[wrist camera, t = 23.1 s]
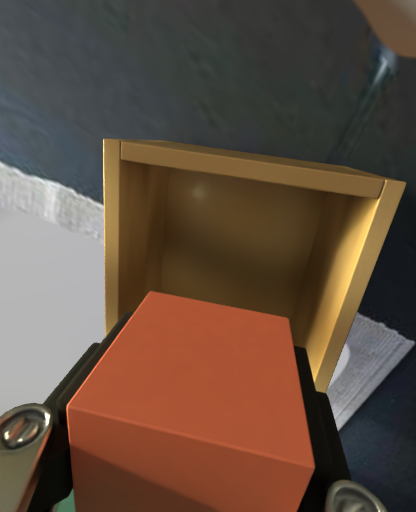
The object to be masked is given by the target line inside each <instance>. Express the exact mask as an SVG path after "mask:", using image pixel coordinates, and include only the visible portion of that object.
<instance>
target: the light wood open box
mask: <svg viewBox="0 0 416 512" xmlns="http://www.w3.org/2000/svg"><path fill="white" fill-rule="evenodd" d="M103 157H104V248H105V337H106V336H107V335H108V333H109V332H110V331H111V329H112V328H113V327H114V326H115V324H116V323H117V322H118V321H119V319H120V318H121V317H122V315H123V314H124V313H125V312H126V311H128V312H133V313H135V311H136V310H137V308H138V307H139V306H140V304H141V303H142V302H143V300H144V299H145V297H146V296H147V295H148V293H149V292H150V291H154V292H159V293H164V294H169V295H174V296H179V297H184V298H189V299H194V300H199V301H205V302H210V303H215V304H220V305H225V306H230V307H235V308H240V309H245V310H250V311H255V312H260V313H265V314H270V315H276V316H281V317H286V318H288V319H289V323H290V329H291V334H292V340H293V346H298V347H303V348H306V350H307V354H308V359H309V363H310V367H311V371H312V376H313V380H314V384H315V388H316V391H319V392H323V393H326V391H327V388H328V386H329V383H330V380H331V378H332V375H333V372H334V370H335V367H336V365H337V362H338V360H339V357H340V354H341V352H342V349H343V347H344V344H345V342H346V339H347V336H348V334H349V331H350V329H351V326H352V323H353V321H354V318H355V316H356V313H357V310H358V308H359V305H360V303H361V300H362V297H363V295H364V292H365V290H366V287H367V284H368V282H369V279H370V277H371V274H372V272H373V269H374V266H375V264H376V261H377V259H378V256H379V253H380V251H381V248H382V246H383V243H384V240H385V238H386V235H387V233H388V230H389V227H390V225H391V222H392V220H393V217H394V214H395V212H396V209H397V207H398V204H399V202H400V199H401V196H402V194H403V191H404V189H405V186H406V182H403V181H399V180H395V179H391V178H387V177H383V176H380V175H376V174H372V173H368V172H364V171H360V170H356V169H353V168H349V167H345V166H339V165H332V164H325V163H318V162H311V161H304V160H297V159H290V158H283V157H276V156H269V155H262V154H255V153H248V152H241V151H233V150H226V149H219V148H212V147H205V146H198V145H191V144H184V143H177V142H170V141H160V140H131V139H104V140H103Z"/></svg>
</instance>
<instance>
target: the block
mask: <svg viewBox="0 0 416 512" xmlns="http://www.w3.org/2000/svg"><path fill="white" fill-rule="evenodd" d="M67 420H68V432H69V444H70V456H71V468H72V480H73V492H74V504H75V512H297V510H298V507H299V505H300V503H301V500H302V498H303V496H304V493H305V491H306V489H307V486H308V484H309V482H310V479H311V477H312V474H313V472H314V470H315V462H314V456H313V451H312V445H311V440H310V434H309V429H308V423H307V418H306V412H305V407H304V401H303V395H302V390H301V384H300V379H299V373H298V368H297V362H296V357H295V351H294V346H293V340H292V334H291V329H290V323H289V319H288V318H286V317H281V316H276V315H270V314H265V313H260V312H255V311H250V310H245V309H240V308H235V307H230V306H225V305H220V304H215V303H210V302H205V301H199V300H194V299H189V298H184V297H179V296H174V295H169V294H164V293H159V292H154V291H150V292H149V293H148V295H147V296H146V297H145V299H144V300H143V302H142V303H141V304H140V306H139V307H138V308H137V310H136V311H135V313H134V314H133V315H132V317H131V318H130V319H129V321H128V322H127V324H126V325H125V326H124V328H123V329H122V330H121V332H120V333H119V335H118V336H117V337H116V339H115V340H114V341H113V343H112V344H111V346H110V347H109V348H108V350H107V351H106V352H105V354H104V355H103V357H102V358H101V359H100V361H99V362H98V363H97V365H96V366H95V368H94V369H93V370H92V372H91V373H90V374H89V376H88V377H87V379H86V380H85V381H84V383H83V384H82V385H81V387H80V388H79V390H78V391H77V392H76V394H75V395H74V396H73V398H72V399H71V401H70V402H69V403H68V405H67Z"/></svg>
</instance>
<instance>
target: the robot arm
mask: <svg viewBox="0 0 416 512" xmlns="http://www.w3.org/2000/svg"><path fill="white" fill-rule="evenodd" d="M133 314H134V313H133V312H128V311H126V312H125V313H124V314H123V315H122V317H121V318H120V319H119V321H118V322H117V323H116V324H115V326H114V327H113V328H112V329H111V331H110V332H109V333H108V335H107V336H106V337H105V338H104V340H103V341H102V342H101V343H93V344H92V345H91V346H90V347H89V348H88V350H87V351H86V352H85V353H84V354H83V356H82V357H81V358H80V359H79V361H78V362H77V363H76V364H75V365H74V367H73V368H72V369H71V370H70V371H69V373H68V374H67V375H66V377H65V378H64V379H63V380H62V381H61V382H60V384H59V385H58V386H57V387H56V388H55V390H54V391H53V392H52V393H51V394H50V396H49V397H48V398H47V400H46V401H45V402H44V403H43V404H37V403H30V404H24V405H21V406H18V407H15V408H13V409H11V410H9V411H7V412H5V413H4V414H3V415H2V416H0V512H57V511H58V507H59V504H60V501H62V500H64V499H66V498H67V497H69V495H70V493H71V491H72V489H73V480H72V468H71V456H70V444H69V432H68V420H67V405H68V403H69V402H70V401H71V399H72V398H73V396H74V395H75V394H76V392H77V391H78V390H79V388H80V387H81V385H82V384H83V383H84V381H85V380H86V379H87V377H88V376H89V374H90V373H91V372H92V370H93V369H94V368H95V366H96V365H97V363H98V362H99V361H100V359H101V358H102V357H103V355H104V354H105V352H106V351H107V350H108V348H109V347H110V346H111V344H112V343H113V341H114V340H115V339H116V337H117V336H118V335H119V333H120V332H121V330H122V329H123V328H124V326H125V325H126V324H127V322H128V321H129V319H130V318H131V317H132V315H133ZM294 351H295V357H296V362H297V368H298V373H299V379H300V384H301V390H302V395H303V401H304V407H305V412H306V418H307V423H308V429H309V434H310V440H311V445H312V451H313V456H314V462H315V470H314V472H313V474H312V477H311V479H310V482H309V484H308V486H307V489H306V491H305V493H304V496H303V498H302V500H301V503H300V505H299V507H298V510H297V512H388V511H387V510H386V508H385V507H384V506H383V504H382V503H381V502H380V500H379V499H378V498H377V497H376V496H375V495H374V494H373V493H372V492H370V491H369V490H368V489H367V488H365V487H363V486H362V485H360V484H359V483H356V482H353V481H352V480H351V477H350V473H349V469H348V466H347V462H346V459H345V455H344V452H343V448H342V444H341V441H340V437H339V434H338V430H337V427H336V423H335V419H334V416H333V412H332V409H331V405H330V401H329V398H328V396H327V394H326V393H323V392H319V391H316V388H315V384H314V380H313V376H312V371H311V367H310V363H309V359H308V354H307V350H306V348H303V347H298V346H294Z"/></svg>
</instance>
